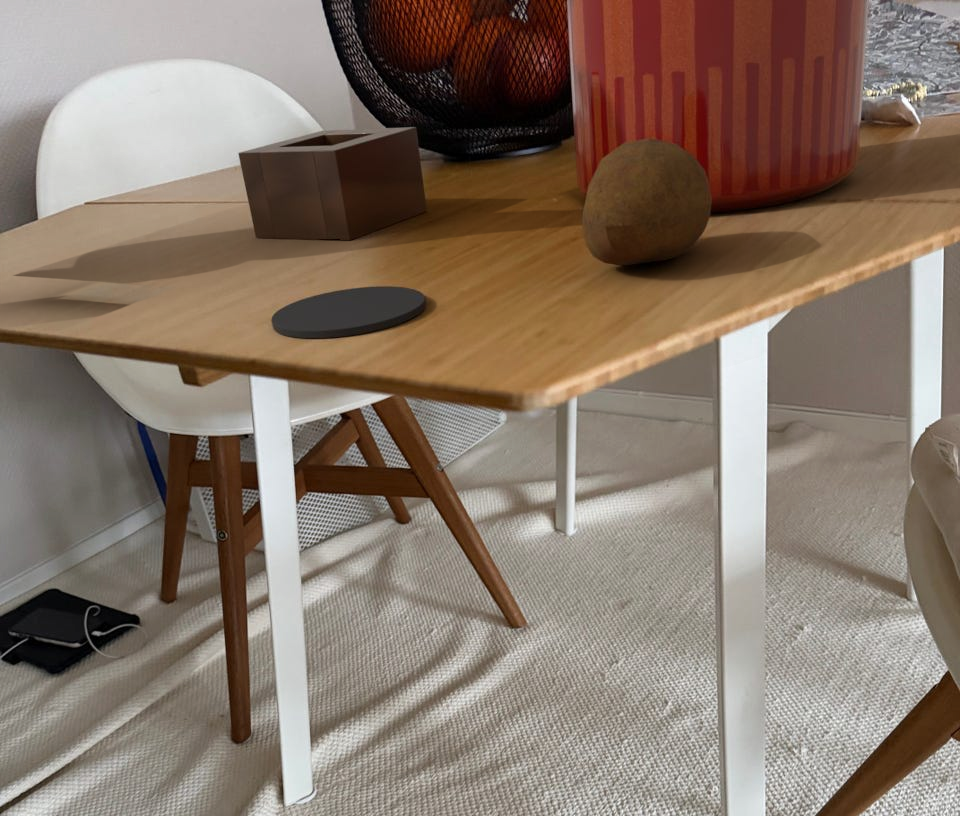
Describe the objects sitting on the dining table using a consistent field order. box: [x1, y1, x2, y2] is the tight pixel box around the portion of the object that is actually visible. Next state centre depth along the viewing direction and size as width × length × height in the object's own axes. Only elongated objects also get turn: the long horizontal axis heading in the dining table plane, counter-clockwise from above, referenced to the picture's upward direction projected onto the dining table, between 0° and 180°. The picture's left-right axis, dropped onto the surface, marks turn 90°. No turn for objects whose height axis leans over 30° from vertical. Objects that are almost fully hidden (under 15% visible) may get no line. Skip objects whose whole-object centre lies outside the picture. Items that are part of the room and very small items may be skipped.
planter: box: [566, 0, 870, 214], centre depth 87 cm, size 23×23×20 cm
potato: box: [582, 138, 712, 266], centre depth 71 cm, size 8×12×8 cm, turn 158°
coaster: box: [270, 285, 427, 339], centre depth 70 cm, size 10×10×1 cm
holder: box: [237, 126, 428, 241], centre depth 96 cm, size 11×11×7 cm
